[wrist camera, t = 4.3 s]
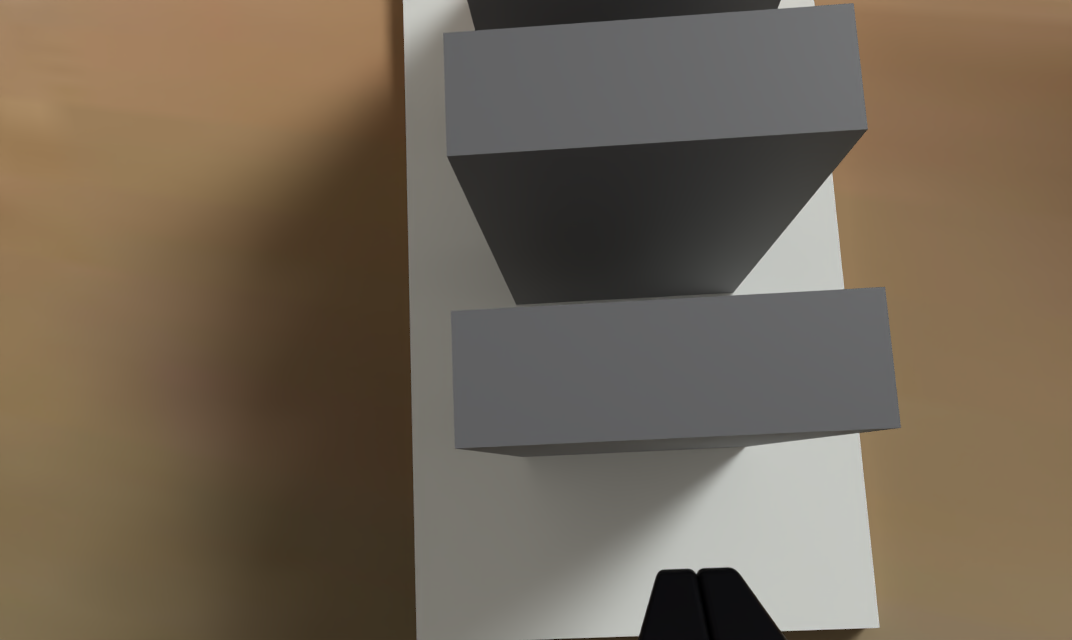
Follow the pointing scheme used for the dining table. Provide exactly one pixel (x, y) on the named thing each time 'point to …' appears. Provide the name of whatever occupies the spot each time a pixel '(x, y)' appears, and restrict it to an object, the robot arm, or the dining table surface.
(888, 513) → the dining table surface
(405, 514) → the dining table surface
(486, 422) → the domino
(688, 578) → the robot arm
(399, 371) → the dining table surface
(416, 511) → the white mat
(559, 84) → the domino
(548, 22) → the domino
